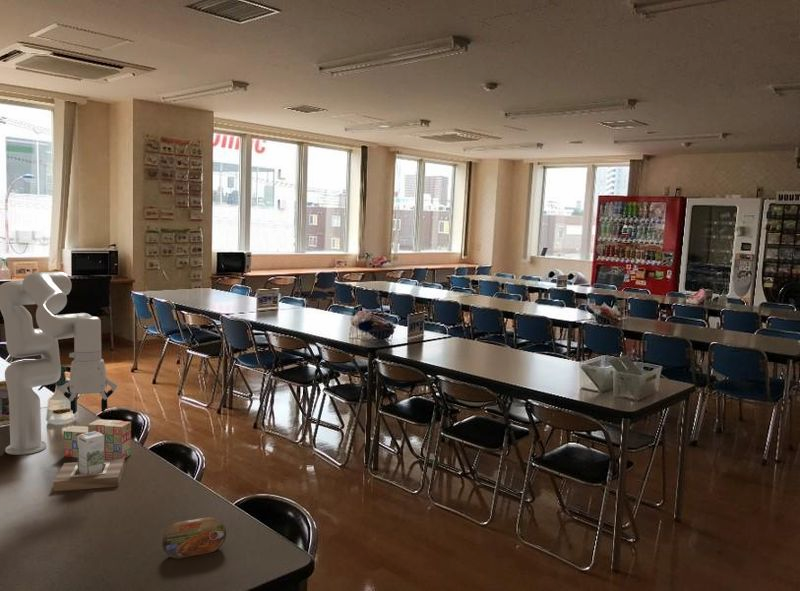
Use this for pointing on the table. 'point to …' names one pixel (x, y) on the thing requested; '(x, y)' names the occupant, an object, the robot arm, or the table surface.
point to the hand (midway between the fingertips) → (89, 411)
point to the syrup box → (90, 453)
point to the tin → (193, 537)
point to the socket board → (88, 476)
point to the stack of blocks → (114, 438)
